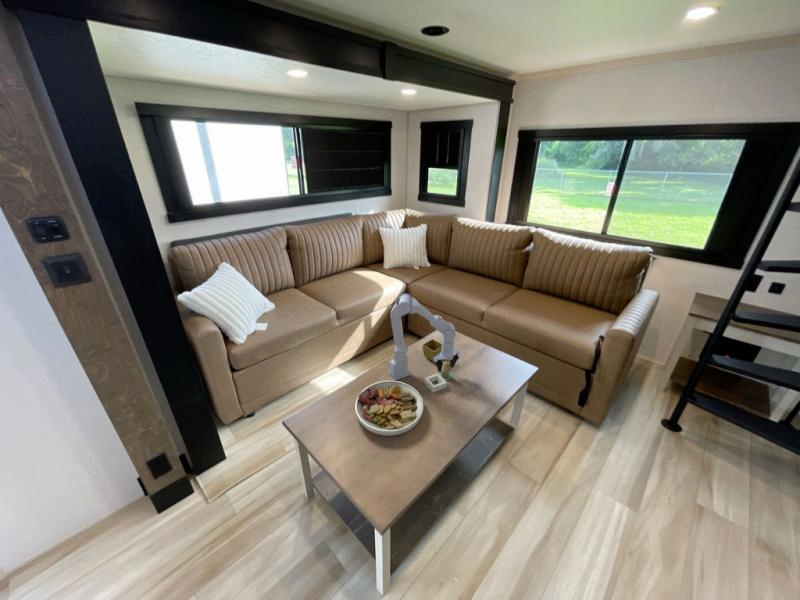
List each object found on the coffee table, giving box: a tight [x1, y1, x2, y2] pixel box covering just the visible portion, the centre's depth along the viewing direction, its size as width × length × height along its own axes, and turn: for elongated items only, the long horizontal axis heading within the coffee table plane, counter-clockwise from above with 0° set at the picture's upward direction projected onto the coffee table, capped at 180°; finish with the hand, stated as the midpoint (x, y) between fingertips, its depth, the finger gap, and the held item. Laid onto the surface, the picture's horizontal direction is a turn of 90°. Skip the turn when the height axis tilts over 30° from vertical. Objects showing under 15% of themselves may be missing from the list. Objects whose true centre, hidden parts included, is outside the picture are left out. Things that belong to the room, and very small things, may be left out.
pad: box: [438, 372, 454, 382], centre depth 159 cm, size 6×6×1 cm
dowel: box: [440, 360, 451, 379], centre depth 157 cm, size 4×4×8 cm
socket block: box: [423, 372, 448, 393], centre depth 153 cm, size 8×8×3 cm
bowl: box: [354, 380, 424, 437], centre depth 137 cm, size 30×30×8 cm
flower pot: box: [422, 338, 442, 362], centre depth 171 cm, size 9×9×9 cm
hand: (445, 368), depth 157 cm, fingers open, 7 cm apart
